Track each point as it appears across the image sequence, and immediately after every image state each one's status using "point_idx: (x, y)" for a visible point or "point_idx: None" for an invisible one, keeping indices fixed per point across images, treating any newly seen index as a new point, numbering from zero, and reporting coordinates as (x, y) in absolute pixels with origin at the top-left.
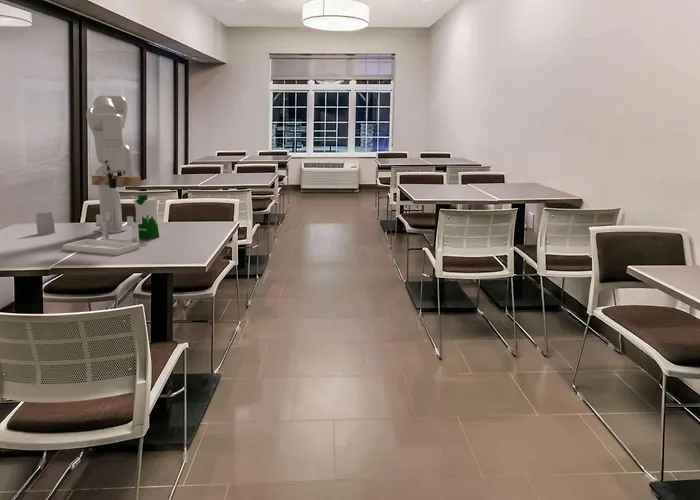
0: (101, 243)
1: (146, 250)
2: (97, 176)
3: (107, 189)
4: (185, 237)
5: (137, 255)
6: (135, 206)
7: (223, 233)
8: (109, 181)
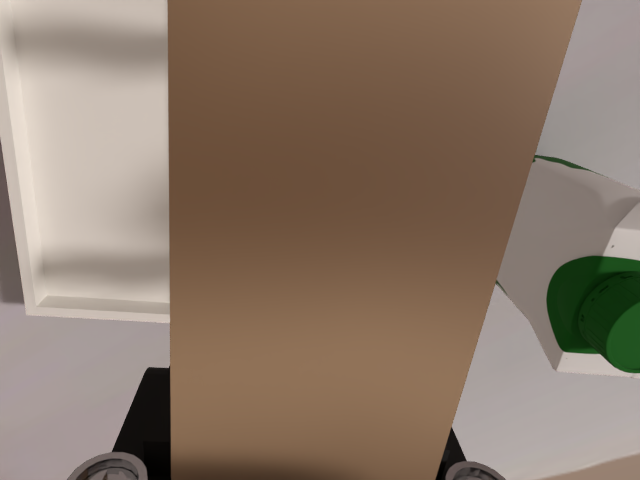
0: None
1: None
2: (170, 31)
3: None
4: (509, 355)
5: (78, 371)
6: (568, 218)
7: (610, 445)
8: (125, 425)
